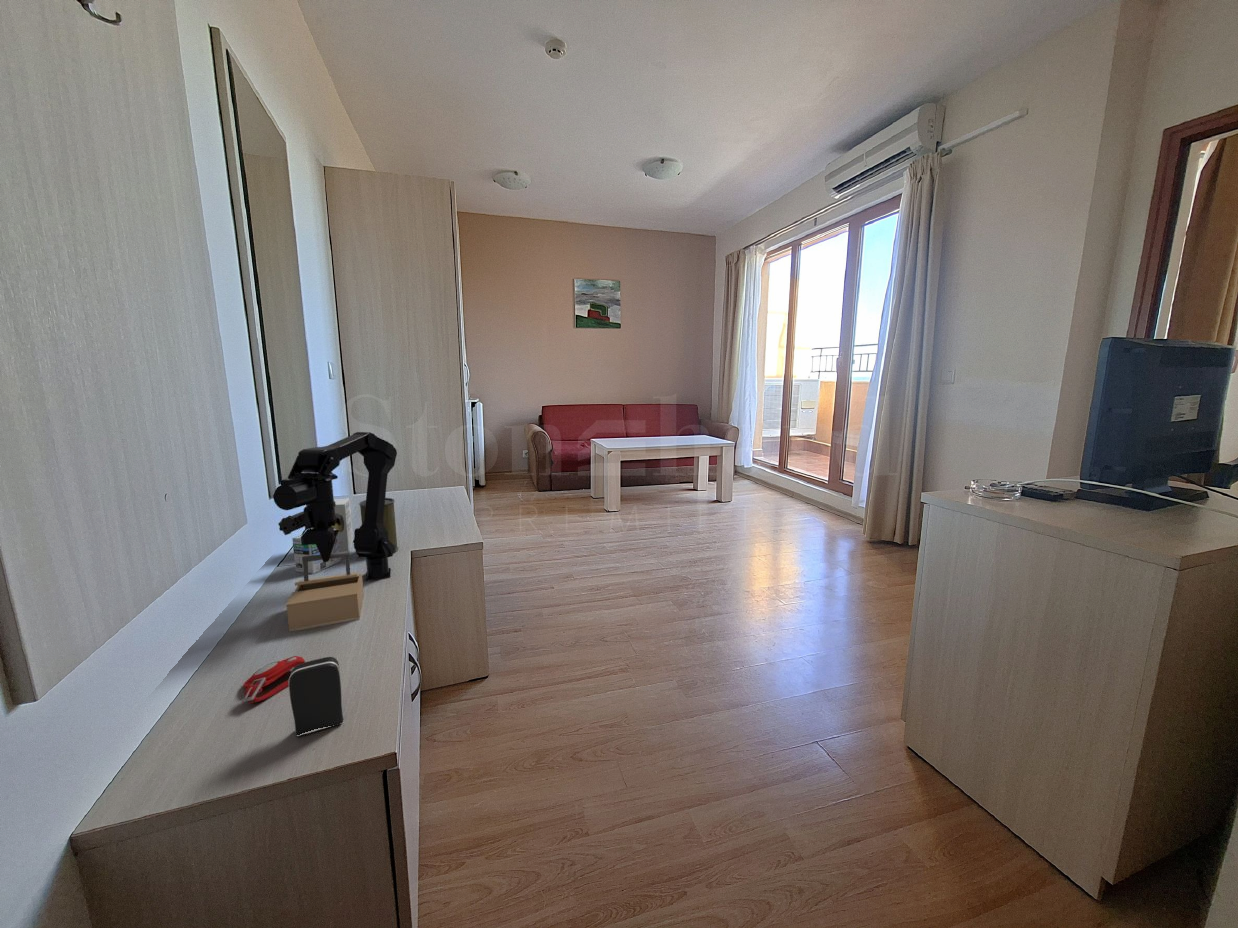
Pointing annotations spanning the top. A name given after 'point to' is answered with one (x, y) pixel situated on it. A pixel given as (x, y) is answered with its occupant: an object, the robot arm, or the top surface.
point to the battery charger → (316, 694)
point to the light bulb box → (309, 551)
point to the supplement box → (344, 524)
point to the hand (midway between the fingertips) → (326, 561)
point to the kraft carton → (325, 603)
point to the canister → (386, 519)
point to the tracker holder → (269, 678)
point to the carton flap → (322, 579)
